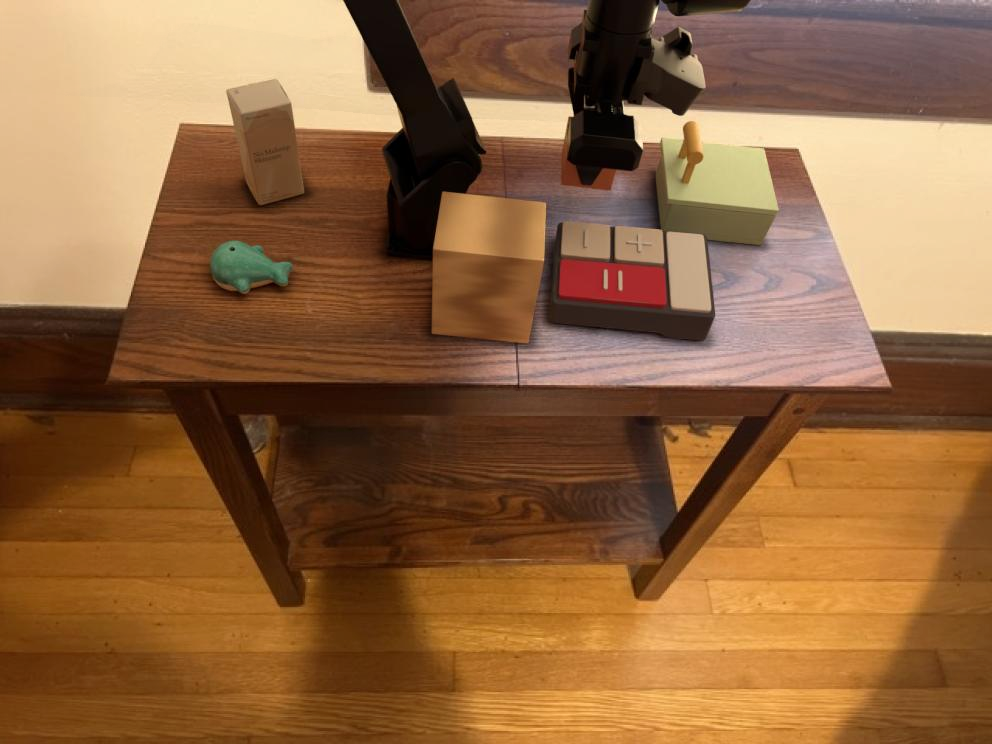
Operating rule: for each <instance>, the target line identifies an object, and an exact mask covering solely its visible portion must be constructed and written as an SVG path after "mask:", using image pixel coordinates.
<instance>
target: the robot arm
mask: <svg viewBox="0 0 992 744" xmlns="http://www.w3.org/2000/svg"><path fill="white" fill-rule="evenodd" d="M342 1H343V3H344V5H345V7H346V10H347V11H348V13H349V15H350V17H351V19H352V20H353V23H354V24H355V26H356V28H357V29H356V30H357V31H358V32H359V34H360V37H361V38H362V40H363V42H364V45H365V46H366V48H367V50H368V52H369V54H370V56H371V58H372V60H373V62H374V63H375V65H376V68H377V69H378V71H379V73H380V75H381V77H382V79H383V82H384V84H385V85H386V87H387V89H388V91H389V93H390V95H391V97H392V99H393V101H394V103H395V105H396V109H397V112H398V117H399V120H400V123H401V126H402V128H400V129H399V130H398V131H397V133H395V135H393V136H392V137H391V138H390V139H389V140H388V141H387V142H386V143H385V144H384V145H383V146H382V147H381V153H382V155H383V159H384V162H385V165H386V168H387V171H388V174H389V177H390V179H389V183H388V186H387V191H386V212H387V231H388V233H387V238H386V244H385V254H386V255H387V256H395V257H402V258H403V257H404V258H413V259H415V258H416V259H422V260H423V259H425V260H432V261H433V246H434V240H435V234H436V227H437V221H438V215H439V209H440V203H441V197H442V192H452V193H461V194H467V192H468V190H469V189H470V186H471V185H472V184H473V183H475V181H477V178H478V177H479V175H481V174H482V172H483V161H482V157H481V155H486V154H487V149H486V147H485V144H484V142H483V140H482V138H481V135H480V134H479V131H478V129H477V127H476V125H475V122H474V120H473V117H472V115H471V112H470V110H469V107H468V106H467V104H466V101H465V99H464V97H463V95H462V92H461V90H460V87H459V86H458V83H457V81H456V79H455V77H453V78H451V79H449V80H448V81H446V82H444V83H443V84H441V83H439V82H438V81H437V80H436V78H435V77H434V76H433V74H432V73H431V71H430V69H429V66H428V64H427V63H426V60H425V57H424V55H423V53H422V51H421V49H420V47H419V44H418V42H417V40H416V37H415V35H414V33H413V31H412V28H411V25H410V24H409V22H408V20H407V17H406V15H405V13H404V11H403V8H402V6H401V4H400V1H399V0H342ZM660 1H661V2H662V3H663V4H664V5H666V7H667V9H668V11H669V12H670V14H671V15H673V16H675V17H692V16H703V15H715V14H725V13H738V12H741V11H742V10H743V9H745V8H747V6H748V5H749V4H750V2H751V1H752V0H588V1H587V7H586V9H583V13H582V19H581V22H580V23H579V24H577V25H576V26H575V27H574V28H572V29H571V30H570V35H569V42H568V47H567V62H568V63H572V64H573V66H572V67H569V68H568V69H567V87H568V92H569V98H570V103H571V108H572V113H573V116H571V117H572V118H571V119H570V124H568V125H567V124H566V127H567V160H568V161H569V162H570V163H571V164H573V165H576V169H577V172H578V176H579V179H580V183H581V184H582V185H588V186H591V185H592V184H593V183H594V181H595V180H596V178H597V177H598V175H599V174H600V172H601V171H602V169H603V168H606V169H615V170H616V171H623V172H624V171H626V172H634V171H635V170H638V169H639V165H640V164H641V159H642V156H643V153H644V144H643V143H644V142H643V131H642V125H641V124H640V122H639V121H638V120H637V119H636V118H635V116H634V115H629V114H626V113H625V106H624V101H627V104H628V105H635V106H642V104H643V100H644V97H645V98H647V99H648V100H650V101H651V102H654V103H656V104H657V105H660V106H662V107H664V108H666V109H668V110H670V111H671V113H672V114H673V115H675V116H678V117H683V116H684V115H685V114H686V113H687V112H688V111H689V109H690V108H691V106H693V104H694V103H695V102H696V100H697V99H698V98H699V97H700V95H702V93H703V91H704V90H705V89H706V86H707V85H706V80H705V74H704V69H703V65H702V63H701V62H700V61H699V60H698V55H697V54H696V53H692V48H693V40H692V39H693V38H692V34H691V33H690V32H689V31H687V30H686V29H683V28H681V27H680V26H677V27H675V28H674V29H672V30H670V31H669V32H667V33H665V34H664V35H662V36H659V38H658V39H655V38H652V33H653V27H654V25H655V21H656V18H657V12H658V9H659V6H660ZM691 53H692V55H691Z"/></svg>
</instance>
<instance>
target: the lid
mask: <svg viewBox="0 0 992 744" xmlns="http://www.w3.org/2000/svg"><path fill="white" fill-rule="evenodd" d="M698 123H699V122H697V121H695V120H689V121H687V122H685V123H684V124H683V126H682V135H683V139H679V138H671V137H670V138H669V137H661V139H660V142H659V144H660V145H659V146H660V153H661V155H662V165H663V174H664V184H665V193H666V203H667V204H675V205H685V206H694V207H703V208H713V209H722V210H731V211H740V212H750V213H759V214H768V215H776V216H777V215H778V213H779V212H780V211H779V206H778V201H777V197H776V193H775V189H774V184H773V181H772V176H771V171H770V168H769V167H770V166H769V163H768V159H767V158H768V157H767V154H766V151H765V148H761V147H751V146H743V145H733V144H726V143H725V144H724V143H717V142H707V141H702V139H701V131H700V126H699V124H698Z"/></svg>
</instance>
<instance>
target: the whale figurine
mask: <svg viewBox="0 0 992 744" xmlns="http://www.w3.org/2000/svg"><path fill="white" fill-rule="evenodd" d="M264 253H265V250H264V247H262V246H261V245H258V244H257V245H253V246H251V245H249V244H248V243H246V242H244V241H241V240H228V241H226V242H223V243H221V244H219V245H218V246H217V247H216V248H215V250H213V252H212V255H211V257H210V262H209V268H210V269H209V270H210V273H211V276H212V278H213V280H214V282H215V283H216V284H217V286H219V287H220V288H222V289H224V290H226V291H230V292H239V293H241V294H243V295H245V294H248V293H249V292H250V291H251V289H254V288H259V287H262V286H265V285H268V284H272V283H275V284H276V285H278V286H279V287H286V286H288V284H289V276H290V273H291V272H293V270H294V265H293V263H292V262H290V261H279V262H275V261H273V260H272V259H271V258H269V257H268V256H266V255H265V254H264Z"/></svg>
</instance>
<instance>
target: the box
mask: <svg viewBox="0 0 992 744" xmlns="http://www.w3.org/2000/svg"><path fill="white" fill-rule="evenodd" d="M225 93H226V97H227V101H228V106H229V110H230V115H231V119H232V123H233V128H234V132H235V137H236V141H237V142H236V143H237V146H238V151H239V155H240V160H241V165H242V170H243V174H244V179H245V182H246V184H247V186H248V188H249V191H250V192H251V194H252V196H253V198H254V199H255V201H256V203H257V205H259V206H263V205H267V204H271V203H274V202H279V201H282V200H286V199H290V198H294V197H297V196H300V195H303V194H305V186H304V181H303V173H302V166H301V159H300V153H299V146H298V139H297V133H296V126H295V124H296V123H295V118H294V117H295V116H294V111H293V105H292V101H291V99H290V97H289V96H288V94H287V92H286V91H285V89H284V88H283V86H282V84H281V82H280V81H279V79H276V78H272V79H269V80H268V79H267V80H262V81H259V82H253V83H248V84H244V85H241V86H236V87H231V88H226V90H225Z"/></svg>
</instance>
